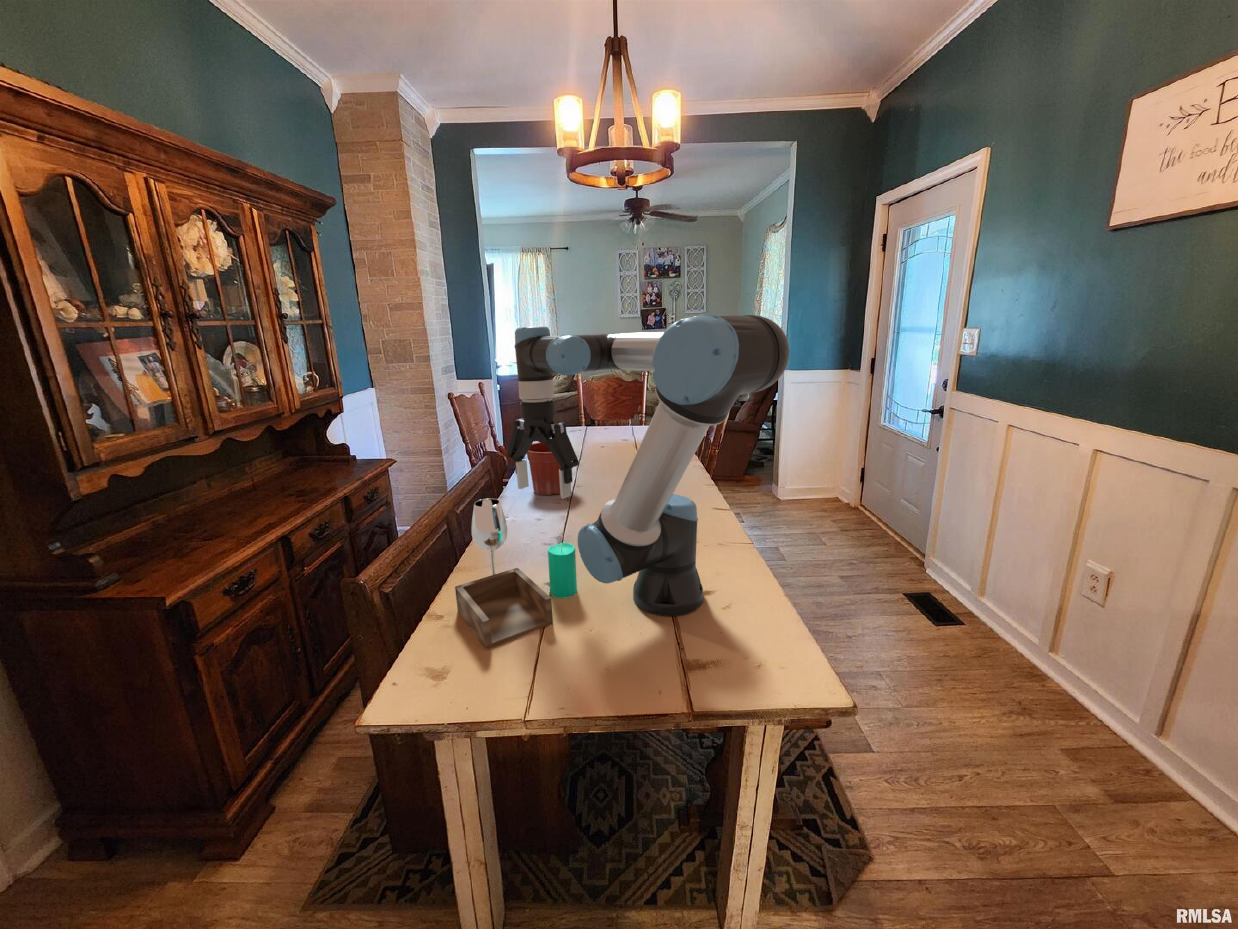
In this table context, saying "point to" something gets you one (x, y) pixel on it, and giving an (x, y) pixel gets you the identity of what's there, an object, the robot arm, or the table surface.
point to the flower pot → (543, 469)
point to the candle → (562, 570)
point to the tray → (503, 607)
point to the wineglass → (489, 526)
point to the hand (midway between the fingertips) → (544, 492)
